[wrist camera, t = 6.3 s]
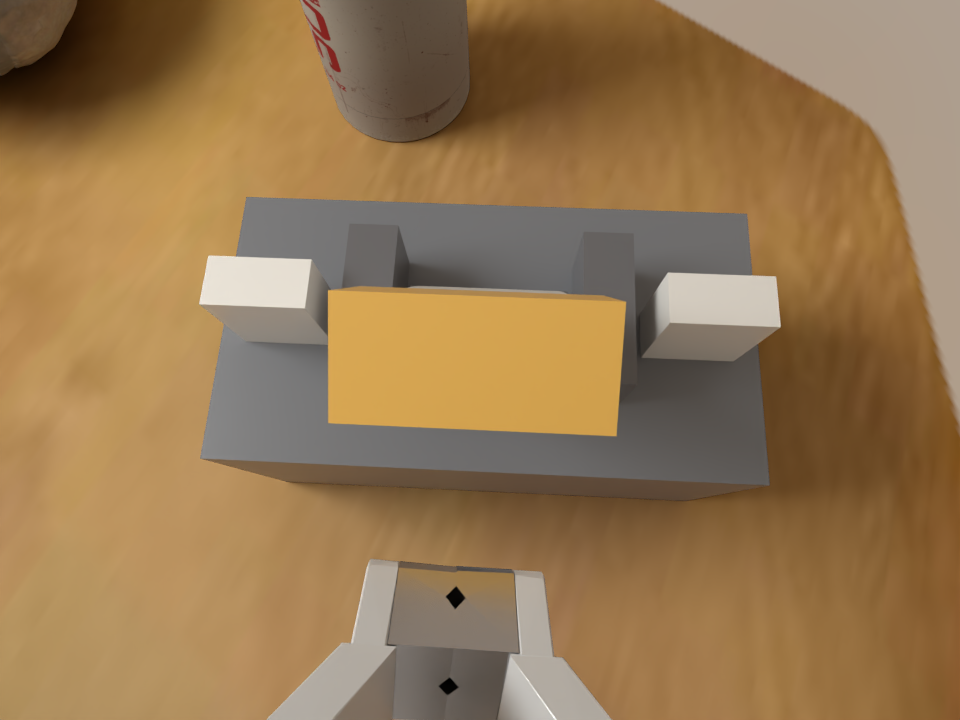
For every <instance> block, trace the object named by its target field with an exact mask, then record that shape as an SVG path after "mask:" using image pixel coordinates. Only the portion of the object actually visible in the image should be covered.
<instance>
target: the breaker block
mask: <svg viewBox="0 0 960 720" xmlns="http://www.w3.org/2000/svg"><path fill="white" fill-rule="evenodd" d="M411 285H412V286H438V287H464V288H491V289H517V290H543V291H567V294H579V295H604V296H607V297H611V298H615V299H618V300H622V301H625V302H626V312H625V326H624V339H623V353H622V367H621V380H620V394H619V408H618V422H617V435H616V436H599V435H577V434H555V433H533V432H510V431H488V430H466V429H444V428H422V427H400V426H378V425H356V424H334V423H328V290H334V289H342V288H350V287H357V286H369V287H395V288H409V287H410V286H411ZM199 304H200V305H201V306H202V307H203V308H205V309H206V310H207V311H208V312H210V313H211V314H212V315H213V316H215V317H216V318H217V319H218V320H220V321H221V322H222V323H223V324H224V327H223V333H222V338H221V344H220V350H219V355H218V361H217V367H216V372H215V378H214V384H213V389H212V395H211V400H210V406H209V412H208V417H207V423H206V429H205V434H204V440H203V446H202V451H201V457H200V459H204V460H208V461H212V462H215V463H219V464H223V465H227V466H230V467H234V468H238V469H241V470H245V471H249V472H253V473H256V474H260V475H264V476H267V477H271V478H275V479H279V480H282V481H286V482H303V483H324V484H345V485H365V486H386V487H407V488H427V489H448V490H469V491H489V492H510V493H531V494H551V495H572V496H593V497H613V498H634V499H655V500H675V501H688V500H693V499H699V498H704V497H710V496H715V495H721V494H726V493H731V492H737V491H742V490H748V489H753V488H759V487H764V486H769V485H770V482H769V470H768V458H767V446H766V434H765V422H764V410H763V398H762V386H761V374H760V362H759V351H758V343H760V342H761V341H762V340H764V339H765V338H766V337H768V336H769V335H771V334H772V333H773V332H775V331H776V330H778V329H779V328H780V327H781V324H780V313H779V303H778V292H777V282H776V276H752V267H751V255H750V243H749V231H748V219H747V214H735V213H705V212H675V211H645V210H616V209H586V208H556V207H526V206H497V205H467V204H437V203H408V202H378V201H348V200H318V199H289V198H259V197H246V203H245V209H244V214H243V220H242V226H241V231H240V237H239V242H238V248H237V254H236V257H232V256H208V261H207V266H206V271H205V276H204V282H203V287H202V292H201V297H200V303H199Z"/></svg>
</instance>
